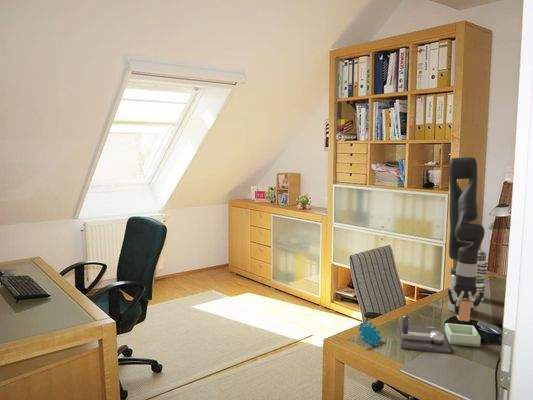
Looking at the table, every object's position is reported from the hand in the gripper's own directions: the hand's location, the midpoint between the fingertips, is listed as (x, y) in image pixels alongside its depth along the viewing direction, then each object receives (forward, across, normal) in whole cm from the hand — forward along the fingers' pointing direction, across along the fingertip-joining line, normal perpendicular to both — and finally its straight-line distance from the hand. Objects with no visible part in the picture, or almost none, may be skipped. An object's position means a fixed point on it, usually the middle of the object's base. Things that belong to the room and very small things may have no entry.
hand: (463, 314), depth 176 cm
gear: (+11, +36, +11) cm, 39 cm away
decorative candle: (+10, -18, -54) cm, 58 cm away
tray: (+10, 0, 0) cm, 10 cm away
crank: (+9, +16, +8) cm, 20 cm away
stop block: (+2, 0, 0) cm, 2 cm away
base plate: (+10, +16, +4) cm, 19 cm away
